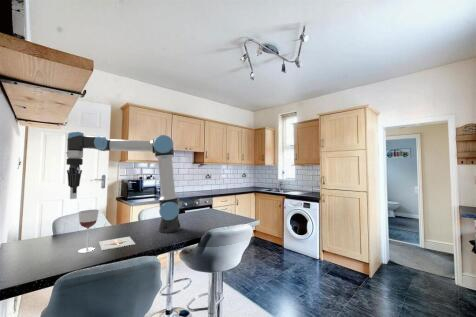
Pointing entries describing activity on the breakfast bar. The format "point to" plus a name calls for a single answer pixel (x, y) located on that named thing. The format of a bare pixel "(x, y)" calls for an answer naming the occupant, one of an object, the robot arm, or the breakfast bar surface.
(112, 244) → the mat
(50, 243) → the breakfast bar surface
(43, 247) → the breakfast bar surface
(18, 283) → the breakfast bar surface
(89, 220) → the wineglass
